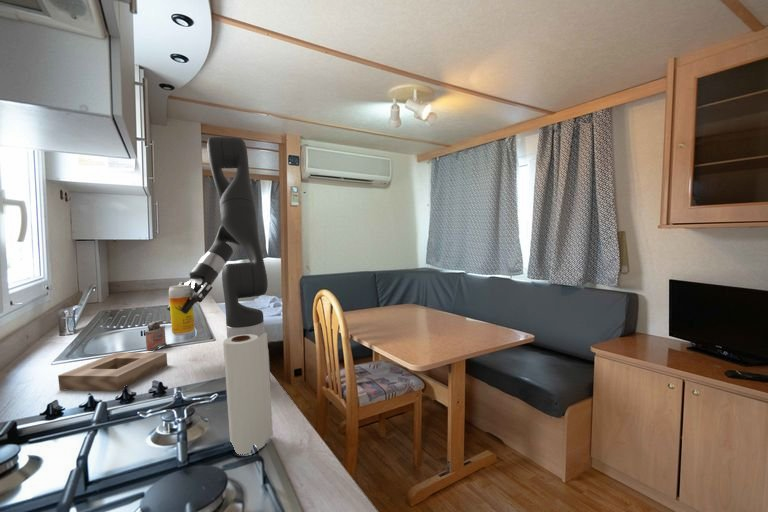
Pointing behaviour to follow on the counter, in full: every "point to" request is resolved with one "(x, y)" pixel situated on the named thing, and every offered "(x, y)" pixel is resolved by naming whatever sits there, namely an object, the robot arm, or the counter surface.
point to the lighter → (155, 336)
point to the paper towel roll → (248, 391)
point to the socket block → (112, 371)
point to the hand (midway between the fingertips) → (176, 311)
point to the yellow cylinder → (180, 320)
